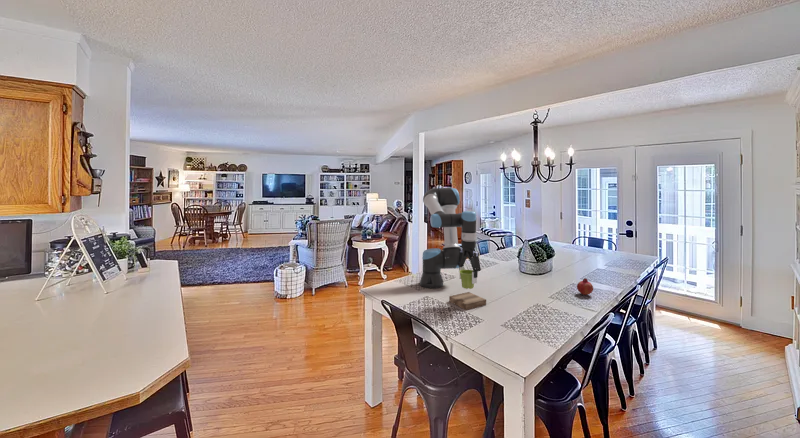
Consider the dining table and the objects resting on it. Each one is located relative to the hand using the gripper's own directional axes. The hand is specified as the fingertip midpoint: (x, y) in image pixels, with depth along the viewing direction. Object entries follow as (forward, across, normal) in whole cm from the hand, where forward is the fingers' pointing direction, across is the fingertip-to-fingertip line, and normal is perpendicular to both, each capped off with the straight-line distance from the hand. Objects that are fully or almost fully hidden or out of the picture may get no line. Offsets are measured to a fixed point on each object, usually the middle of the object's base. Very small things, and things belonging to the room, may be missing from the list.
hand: (467, 280), depth 169 cm
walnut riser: (+13, 0, 0) cm, 13 cm away
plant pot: (+4, 0, 0) cm, 4 cm away
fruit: (+13, +24, +68) cm, 73 cm away
